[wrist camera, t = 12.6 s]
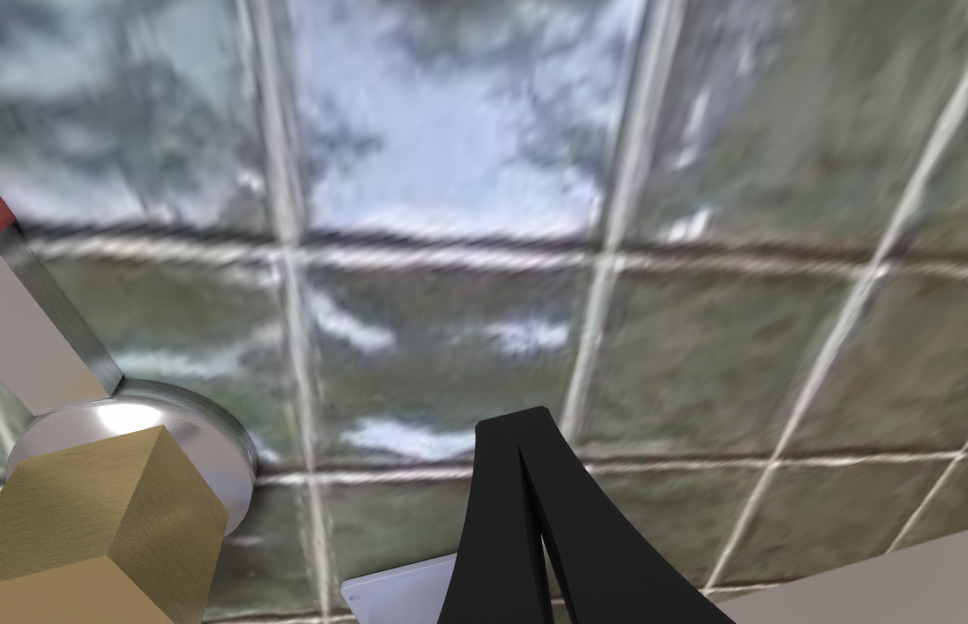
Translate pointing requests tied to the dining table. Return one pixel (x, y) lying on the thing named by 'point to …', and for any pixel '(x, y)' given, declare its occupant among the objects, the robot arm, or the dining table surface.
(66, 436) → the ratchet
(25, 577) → the brushed tan cube
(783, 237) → the dining table surface
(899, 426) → the dining table surface
